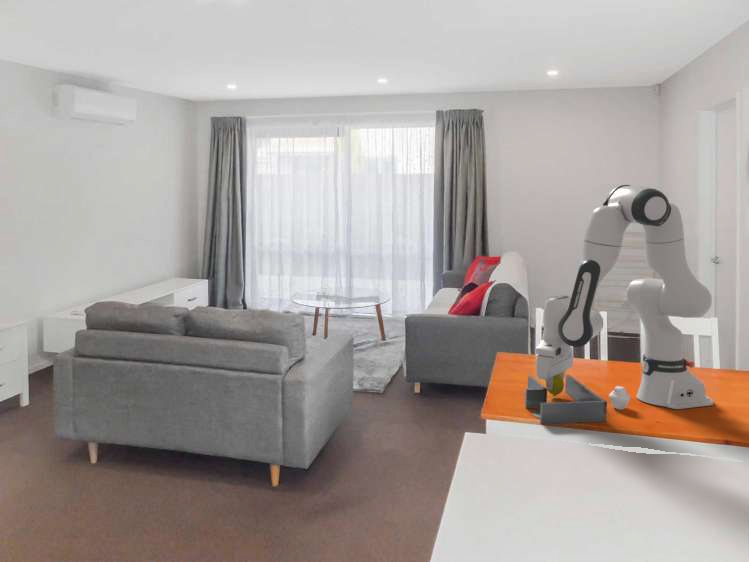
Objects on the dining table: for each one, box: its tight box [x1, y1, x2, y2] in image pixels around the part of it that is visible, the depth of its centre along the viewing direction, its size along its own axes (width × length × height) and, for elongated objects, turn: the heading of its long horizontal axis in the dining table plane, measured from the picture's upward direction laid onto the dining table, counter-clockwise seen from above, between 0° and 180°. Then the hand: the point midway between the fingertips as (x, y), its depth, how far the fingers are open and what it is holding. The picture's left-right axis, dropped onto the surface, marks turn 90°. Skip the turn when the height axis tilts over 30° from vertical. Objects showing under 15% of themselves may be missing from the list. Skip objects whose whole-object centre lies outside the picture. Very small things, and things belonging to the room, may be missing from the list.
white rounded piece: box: [608, 385, 631, 410], centre depth 189 cm, size 6×6×7 cm
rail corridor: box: [524, 374, 608, 425], centre depth 190 cm, size 20×28×6 cm
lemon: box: [545, 374, 565, 397], centre depth 198 cm, size 6×6×8 cm
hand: (554, 386), depth 198 cm, fingers closed on lemon, 5 cm apart
